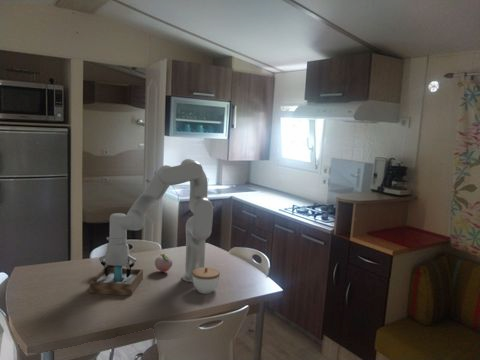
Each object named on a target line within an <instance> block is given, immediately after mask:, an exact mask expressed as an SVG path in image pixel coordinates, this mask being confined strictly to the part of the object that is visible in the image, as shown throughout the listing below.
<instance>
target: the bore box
mask: <svg viewBox="0 0 480 360" xmlns="http://www.w3.org/2000/svg"><path fill="white" fill-rule="evenodd" d="M126 270H127V267H126V268H124V267H122V282H114V268H109V275H108V276H106V274H105V268H104V267H103V269H101V271H99V273H98V274H96V276H95V277H94V278H92V280H90V282H89V294H99V295H100V294H102V295H118V296H133V294H134V293H135V291H136V290H137V288H138V286H139V285H141V282H142V281H143V280H144V269H140V268H139V269H138V268H131V275H130V276H129V277H128V278H127V277H126Z"/></svg>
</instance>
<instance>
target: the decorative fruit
mask: <svg viewBox="0 0 480 360" xmlns="http://www.w3.org/2000/svg"><path fill="white" fill-rule="evenodd" d="M154 266H155V268H156V269H157V270H158V271H160V272H162V273H165V272H168V271H169V270H170V269H171V268H172V266H173V260H172V258H171V257H169V256H168V255H166V254H165V253H161V254H160V255H159V256H157V257H156V258H155V260H154Z"/></svg>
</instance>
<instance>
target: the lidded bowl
mask: <svg viewBox="0 0 480 360" xmlns="http://www.w3.org/2000/svg"><path fill="white" fill-rule="evenodd" d="M192 275H193V282H192V284H193V286H194V288H195V289H196V290H197V292H198V293H200V294H204V295H205V294H206V295H207V294H212V293H213V291H214V290H215V289H216V288H217V287H218V285H219V280H220V270H218V269H217V268H215V267H209V266H204V267H200V268H196V269H194V270H193V272H192Z"/></svg>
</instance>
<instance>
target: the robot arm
mask: <svg viewBox="0 0 480 360" xmlns="http://www.w3.org/2000/svg"><path fill="white" fill-rule="evenodd" d="M187 182H189V201H188V208H189V210H190V212H192V216H190V217H189V218H188V219H187V220H186V223H185V239H186V240H185V263H184V264H185V266H184V267H185V269H184V270H185V271H184V273H182V275H181V279H182V280H183V281H184V282H188V283H193V275H192V272H193V270H194V269H196V268H200V267H205V262H206V261H205V260H206V259H205V257H206V240H207V239H208V238H210V236H211V234H212V229H213V222H214V221H213V218H214V206H213V203H212V201H211V200H210V199H209V198H208V187H209V186H208V185H209V184H208V178H207V175H206V172H205V170H204V169H203V165H202V164H201V163H200V162H198V161H197V160H194V159H190V158H187V159H184V160H182V162H181V163H180V164H179V165H173V166H171V165H166V164H165V165H162V166H160V168H158V170H157V171H156V173H155V174H154V176H153V178H152V179H151V180H150V182H149V184H148V185H147V186H146V188H145V189H144V190H143V191H142V192H141V194H140V195H139V196H138V198H136V199H135V201H134V203H132V205H131V207H130V208H129V210H128V212H127V213H122V212H118V213H116V212H114V213H111V214H110V216H109V236H106V241H108V243H107V245H106V248H105V249H106V250H105V254H106V255H105V254H104V255H102V256H99V258H98V260H99V262H100V264H101V266H103V269H104V268H105V274H106V276H108V275H109V265H114V266H122V267H126V269H127V270H126V277H127V278H128V277H129V276H130V275H131V269H133V267H134V266H135V265H136V263H137V261H138V259H137V258H135V257H133V256H132V255H130V246H129V242H128V241H127V239H128V235H127V233H128V231H140V230H142V229H143V228H144V227H145V225H146V224H145V223H146V222H145V218H144V216H145V215H146V213H147V211H148V210H149V209H150V208H151V207H152V206H153V205H154V204H157V203H158V202H160V201H161V199H162V198H163V197H164V195H165V194H166V192H167V191H168V189H169V188H170V187H171V186H172V187H173V186H176V185H180V184H184V183H187ZM105 258H106V259H105ZM104 259H105V260H104ZM130 261H132V262H131V263H130Z"/></svg>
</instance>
